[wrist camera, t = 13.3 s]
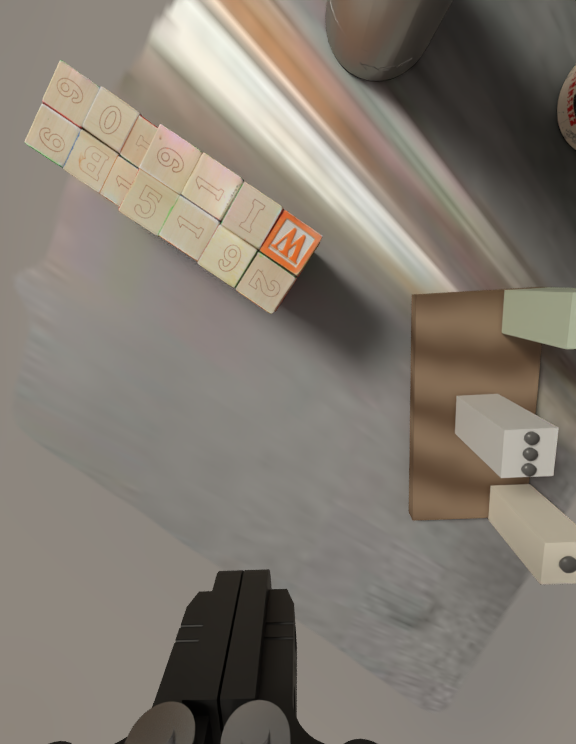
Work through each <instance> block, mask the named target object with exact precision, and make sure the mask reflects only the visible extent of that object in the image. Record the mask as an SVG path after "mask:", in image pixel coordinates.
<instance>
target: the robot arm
mask: <svg viewBox="0 0 576 744" xmlns="http://www.w3.org/2000/svg"><path fill="white" fill-rule="evenodd" d="M452 1H453V0H327V5H326V15H325V16H326V32H327V37H328V42H329V44H330V47H331V49H332V52H333V54H334V55H335V57H336V58H337V60H338V61H339V63H340V64H341V65H342V66H343V67H344V68H345V69H346V70H347V71H349V72H350V73H352V74H354V75H355V76H357V77H359V78H362V79H366V80H370V81H382V80H387V79H392V78H394V77H396V76H399V75H401V74H403V73H404V72H405V71H407V70H408V69H409V68H411V67H412V66H413V65H414V64H415V63H416V62H417V61H418V60H419V58H420V57H421V56H422V54H423V53H424V51H425V49H426V48H427V46H428V44H429V42H430V41H431V39H432V37H433V35H434V33H435V31H436V30H437V28H438V26H439V24H440V22H441V21H442V19H443V17H444V15H445V14H446V12H447V10H448V8H449V6H450V4H451V3H452ZM296 684H297V642H296V627H295V612H294V603H293V601H292V599H291V597H290V595H289V592H288V590H287V589H271V576H270V570H269V569H267V570H245V571H243V570H239V571H219V572H218V573H217V576H216V580H215V583H214V587H213V590H212V591H210V592H209V591H207V592H199V593H198V594H197V595H196V596H195V598H194V599H193V600H192V601H191V603H190V604H189V605H188V606H187V608H186V611H185V614H184V617H183V620H182V623H181V628H179V631H178V634H177V637H176V642H175V643H174V646H173V649H172V652H171V655H170V658H169V660H168V663H167V666H166V669H165V672H164V675H163V678H162V681H161V684H160V687H159V689H158V692H157V695H156V698H155V701H154V703H153V706H152V708H151V709H149V710H148V711H147V712H145V713H144V714H143V715H142V716H141V717H140V718H139V719H138V721H137V722H136V723H135V724H134V726H133V727H132V729H131V731H130V733H129V734H128V736H127V737H126V738H124V739H123V740H121V741H119V742H117V743H115V744H324V743H322V742H320V741H317V740H316V739H314V738H313V737H311V736H310V735H309V734H308V733H307V732H306V731H305V730H304V729H303V728H302V726H301V725H300V724H299V722H298V720H297V685H296ZM50 744H71V743H69V742H66V741H58V742H53V743H50ZM345 744H376V743H375V742H372V741H369V740H365V739H354V740H351V741H348V742H346V743H345Z"/></svg>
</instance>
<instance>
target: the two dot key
mask: <svg viewBox="0 0 576 744" xmlns="http://www.w3.org/2000/svg"><path fill="white" fill-rule="evenodd" d="M502 333H503V334H507V335H511V336H515V337H519V338H523V339H527V340H531V341H535V342H539V343H543V344H547V345H551V346H555V347H559V348H563V349H576V288H553V287H547V288H531V289H514V290H504V305H503V320H502Z"/></svg>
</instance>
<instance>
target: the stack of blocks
mask: <svg viewBox="0 0 576 744" xmlns="http://www.w3.org/2000/svg"><path fill="white" fill-rule="evenodd" d="M42 100H43V103H42V105H41V107H40V109H39V111H38V113H37V115H36V117H35V119H34V122H33V124H32V127H31V129H30V131H29V133H28V136H27V137H26V140H25V144H27V145H28V146H30V147H31V148H33V149H34V150H36V151H37V152H39V153H40V154H42V155H43V156H45V157H46V158H48V159H49V160H51V161H52V162H54V163H56V164H57V165H59V166H60V167H62V168H63V169H64V170H65V171H67V172H68V173H69V174H71V175H72V176H74V177H75V178H77V179H79V180H80V181H82V182H83V183H85V184H86V185H88V186H89V187H90V188H92V189H93V190H95V191H97V192H98V193H100V194H101V195H102V196H104V197H105V198H107V199H108V200H110V201H111V202H113V203H114V204H116V205H117V206H119V209H118V210H119V212H121V213H122V214H124V215H125V216H127V217H129V218H130V219H132V220H133V221H135V222H136V223H138V224H139V225H141V226H142V227H144V228H145V229H147V230H149V231H150V232H152V233H153V234H155V235H156V236H159V237H161V238H163V239H164V240H166V241H167V242H169V243H170V244H172V245H173V246H175V247H176V248H178V249H179V250H181V251H182V252H184V253H185V254H187V255H188V256H190V257H191V258H193V259H195V260H196V261H197V263H198V264H199V265H200V266H202V267H203V268H204V269H206V270H207V271H209V272H211V273H212V274H214V275H215V276H217V277H218V278H220V279H221V280H222V281H224V282H225V283H227V284H228V285H230V286H231V287H233V288H235V289H236V290H237V291H238V292H239V293H241V294H242V295H244V296H245V297H246V298H248V299H249V300H251V301H252V302H254V303H255V304H257V305H258V306H259V307H261V308H262V309H264V310H265V311H267V312H268V313H270V314H272V313H273V312H274V311H275V312H276V310H277V309H278V307H279V305H280V304H281V302H282V301H283V299H284V298H285V296H286V295H287V293H288V292H289V290H290V289H291V287H292V286H293V284H294V283H295V281H296V280H297V278H298V277H299V275H300V274H301V272H302V270H303V269H304V267H305V266H306V264H307V263H308V261H309V259H310V258H311V256H312V255H313V253H314V251H315V250H316V248H317V247H318V245H319V244H320V241H321V239H322V235H320V234H319V233H318V232H316V231H315V230H313V229H312V228H311V227H309V226H308V225H306V224H305V223H303V222H302V221H300V220H299V219H298V218H296V217H295V216H293V215H292V214H291V213H289V212H288V211H286V210H284V209H283V207H282V206H281V205H279V204H278V203H276V202H275V201H273V200H272V199H270V198H269V197H267V196H266V195H264V194H263V193H261V192H260V191H258V190H257V189H255V188H254V187H252V186H251V185H249V184H248V183H246V182H244V180H243V179H242V178H241V177H240V176H239V175H237V174H236V173H234V172H233V171H231V170H230V169H228V168H227V167H225V166H224V165H222V164H221V163H219V162H218V161H216V160H215V159H213V158H212V157H210V156H209V155H207V154H206V153H203V152H201V151H200V150H199V149H198V148H196V147H195V146H193V145H192V144H190V143H189V142H187V141H186V140H184V139H183V138H181V137H180V136H179V135H177V134H176V133H174V132H173V131H171V130H170V129H168V128H167V127H165V126H164V125H162V124H160V125H159V127H156V126H155V125H153V124H152V123H151V122H149V121H148V120H146V119H145V118H144V117H143V116H142V115H141V114H140V113H139V112H138V111H136V110H135V109H134V108H132V107H131V106H130V105H128V104H127V103H125V102H124V101H123V100H121V99H120V98H118V97H117V96H115V95H114V94H113V93H111V92H110V91H108V90H107V89H105V88H104V87H99V86H98V85H96V84H95V83H93V82H92V81H91V80H89V79H88V78H87V77H85V76H84V75H82V74H81V73H80V72H78V71H77V70H75V69H74V68H73V67H71V66H70V65H68V64H67V63H65V62H64V61H63V60H60V62H59V64H58V66H57V68H56V70H55V73H54V75H53V77H52V80H51V82H50V84H49V86H48V88H47V90H46V92H45V95H44V97H43V99H42Z"/></svg>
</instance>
